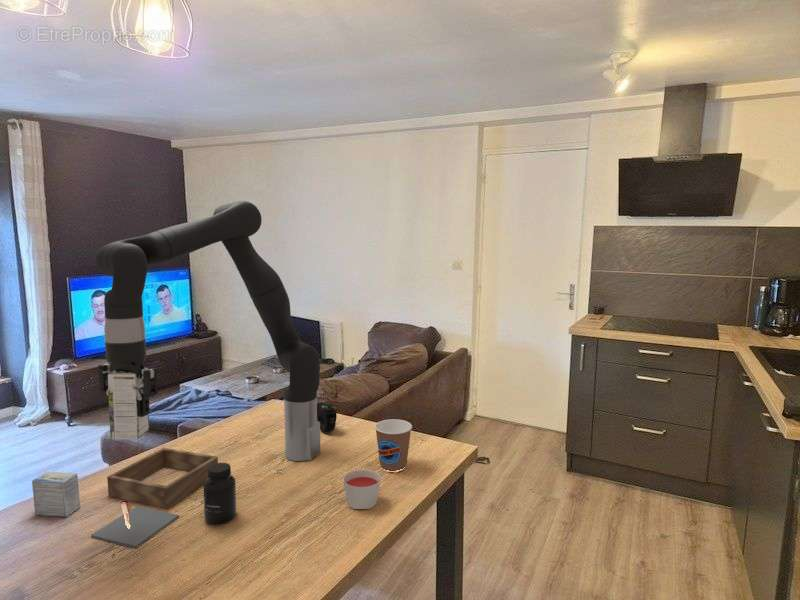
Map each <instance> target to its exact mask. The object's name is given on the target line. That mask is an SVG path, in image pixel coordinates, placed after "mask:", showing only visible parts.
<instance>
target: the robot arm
mask: <svg viewBox="0 0 800 600" xmlns="http://www.w3.org/2000/svg"><path fill="white" fill-rule="evenodd" d="M212 213H213V214H212V215H210V216H207V217H203V218H199V219H196V220H192V221H188V222H185V223H180V224H175V225H172V226H168V227H165V228H162V229H158V230H155V231H152V232H149V233H147V234H144V235H141V236H136V237H131V238H126V239H120V240H116V241H113V242H110V243H107V244H105V245H103V246H101V248H100V249H98V251H97V253H96V255H95V258H94V260H95V266H96V267H97V269H98V270H99V271H100V272H101V273H103V274H104V275H106V276H110V277H112V284H111V289H109V290H107V291H106V292H105V294H104V301H103V303H104V304H103V307H104V347H105V348H104V349H105V360H106V363H103V364H99V365H98V366H97V368H98V369H97V371H98V381H99V391H100V392H101V393H106V396H108V397H109V392H108V384H106V381H107V383H108V374H110V373H112V372H118V371H124V372H122V373H134V374H136V376H137V378H138V377H139V375H140V379H141V378H142V384H140V385H137V387H135V386H134V385H133V384H132V388H133V390H136V391H137V399H138V400H137V409H138V416H139V417H144V416H146V415H148V413H149V414H150V398H151V397H154V396H156V395H158V372H157V371H158V370H157V368H156V367H152V368H147V367H145V363H144V361H145V359H146V358H147V345H146V344H147V342H146V341H147V340H146V324H145V320H144V308H143V307H144V305H143V293H144V292H145V291H144V290H145V285H146V281H147V275H148V266H149V265H160V264H165V263H168V262H170V261H172V260H175V259H178V258H181V257H184V256H186V255H188V254H192V253H193V252H195V251H199V250H200V249H203V248H206V247H208V246H210V245H213V244H217V243H219V242H221V243H222V245H223V246H224V248H225V249H226V251H227V252H228V255H229V256H230V257H231V259H232V261H233V263H234V265H235V267H236V269H237V271H238V274H239V275H240V277H241V279H242V281H243V283H244V286H245V287H246V289H247V292H248V294H249V296H250V299H251V301H252V303H253V305H254V307H255V309H256V311H257V313H258V315H259V317H260V319H261V321H262V323H263V325H264V327H265V328H266V331H267V332H268V333H269V334H268V335H269V336H270V338H271V341H272V344H273V347H274V350H275V353H276V356H277V360H278V362H279V363H280V366H281V367H282V368H283V370H285V371H286V372H288V373H289V385H288V386H286V387H285V388H284V391H283V397H284V398H283V403H284V404H283V405H284V406H283V407H284V441H285V443H284V446H285V448H284V449H285V450H284V451H285V459H287V460H290V461H293V462H306V461H308V460H310V461H312V460H314V459H315V458H316V457H317V456H318V455H319V454H321V430H320V422H319V421H317V403H318V398H317V397H318V396H317V395H318V391H319V387H320V380H321V379H320V378H321V377H320V376H321V374H320V372H321V371H320V368H321V363H320V362H321V359H320V355H319V352H318V350H317V349H316V348H315V347H314V346H312V345H310V344H307V343H305V342H303V341H302V340H301V338H300V336H299V334H298V332H297V331H296V329H295V327H294V325H293V322H292V314H291V313H292V311H291V301H290V298H289V295H288V292H287V290H286V288H285V285H284V283H283V281H282V279H281V277H280V275H279V274H278V272H276V270H275V269H274V268H273V267H272V266H270V264H269V263H267V262H266V261H265V259H263V258H262V257H261V256H260V254H259V253H258V252H257V251H256V249H255V247H254V245H253V244H252V241H251V239H250V237H251V236H253V235H255V234H256V233H257V232H258V231H259V230H260V228H261V225H262V222H263V221H262V214H261V212H260V210H259V208H258V206H256V205H255V204H253V203H252V202H250V201H246V200H239V201H233V202H230V203H227V204H222V205H220V206H218V207H217V208H215V209H214V210H213V212H212ZM140 389H142V391H143V394H142V393H141V391H140ZM316 455H317V456H316ZM315 456H316V457H315ZM314 457H315V458H314ZM305 460H306V461H305Z"/></svg>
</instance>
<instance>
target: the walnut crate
mask: <svg viewBox="0 0 800 600" xmlns="http://www.w3.org/2000/svg"><path fill="white" fill-rule="evenodd" d="M216 463H219V458H218V456H215V455H210V454H204V453H197V452H192V451H185V450H179V449H175V448H169V447H162V448H160V449H158V450H155V452H153V453H151V454H149V455H146V456H145V457H142V458H141V459H139V460H136V461H135V462H133V463H131V464H129V465H127V466H126V467H123V468H122V469H119V470H118V471H116V472H113V473H111V474H110V475H108V476H106V477H107V493H108V495H107V496H108V497H110V498H116V499H119V498H120V499H121V500H125V501H128V502H133V503H139V504H143V505H148V506H153V507H156V508H162V509H167V510H168V509H170V508H172V506H175V504H177V503H179V502H180V501H181V500H183V499H185V498H186V497H188V496H189V495H191V494H192V493H193V492H195V491H196V490H198V489H199V488H201V487H202V486H204V482H205V480H206V479H207V478H208V468H209V467H210V466H211V465H213V464H216ZM164 468H168V469H169V468H170V469H174V470H179V471H186V472H187V473H185V474H184V475H181V476H180V477H179V478H176V479H175V480H174V481H172V482H171V483H169V484H167V485H163V484H158V483H154V482H148V481H143V480H144V479H146V478H148V477H149V476H151V475H153V474H155V473H156V472H159V471H160V470H162V469H164Z"/></svg>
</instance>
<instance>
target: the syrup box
mask: <svg viewBox="0 0 800 600" xmlns="http://www.w3.org/2000/svg"><path fill="white" fill-rule="evenodd" d="M122 372H124V371H118V372H112V373H110V374H108V382H107V385H108V392H109V396H108V409H109V410H108V414H109V434H110V435H109V438H110V440H111V441H130V440H131V441H132V440H133V441H134V440H139V439H140V438H141V437H142V436H144V435H145V434H146V433H147V432H148V431H149V430H150V415H149V414H150V412H149V413H148V415H146V416H144V417H139V416H138V409H137V400H138V399H137V391H136V390H133V388H132V384H133V385H134V386H135V387H137V385H140V384H142V378H141V379H140V375H139V377H138V378H137V376H136V374H134V373H122ZM140 391H141V393H142V394H143V391H142V389H140Z"/></svg>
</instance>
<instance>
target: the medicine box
mask: <svg viewBox="0 0 800 600" xmlns="http://www.w3.org/2000/svg"><path fill="white" fill-rule="evenodd" d="M78 478H79V477H78V473H76V472H75V473H74V472H60V471H59V472H58V471H46V472H44V473H42V474H41V475H38V476H37V477H36V478H33V480H31V481H32V482H31V485H32V486H31V487H32V495H33V505H34V506H33V507H34V515H35V516H39V515H40V516H41V515H42V517H58V516H59V518H61V517H63V518H67V517H69V516H71V515H70V514H74V511H75V512H76V511H77V510H79V509H80V508H81V498H80V491H79V490H80V489H79V488H80V487H79V480H78ZM78 508H79V509H78Z"/></svg>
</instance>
